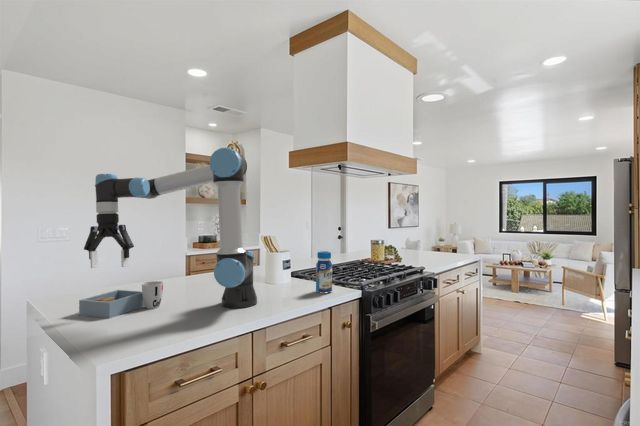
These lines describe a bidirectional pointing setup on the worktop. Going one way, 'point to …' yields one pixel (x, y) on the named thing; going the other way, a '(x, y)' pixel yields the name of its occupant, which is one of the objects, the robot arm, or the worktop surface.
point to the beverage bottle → (324, 272)
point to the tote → (111, 304)
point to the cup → (152, 294)
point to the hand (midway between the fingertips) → (109, 267)
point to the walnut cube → (105, 299)
